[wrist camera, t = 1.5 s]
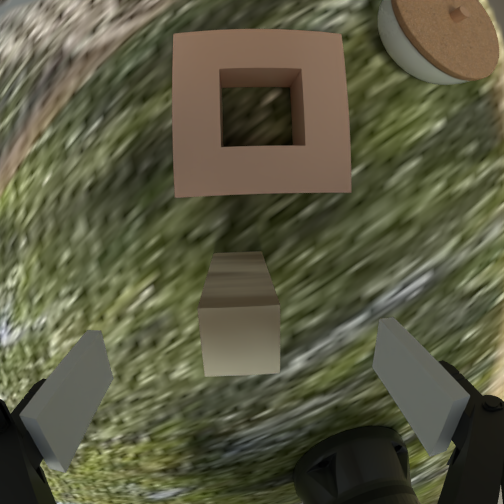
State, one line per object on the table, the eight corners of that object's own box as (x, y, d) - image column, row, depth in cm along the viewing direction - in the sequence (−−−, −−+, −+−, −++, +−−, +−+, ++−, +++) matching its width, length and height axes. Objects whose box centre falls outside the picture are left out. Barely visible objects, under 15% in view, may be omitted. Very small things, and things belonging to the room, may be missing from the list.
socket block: (331, 189, 26) (351, 192, 22) (186, 194, 26) (174, 197, 21) (324, 56, 24) (341, 34, 19) (183, 57, 23) (173, 33, 18)
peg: (262, 296, 28) (279, 373, 17) (216, 298, 28) (205, 376, 16) (261, 251, 27) (280, 304, 16) (213, 253, 27) (197, 308, 16)
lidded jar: (380, 99, 25) (437, 73, 16) (345, 0, 22) (382, -52, 13) (464, 94, 25) (526, 78, 16) (432, 5, 22) (480, -30, 13)
